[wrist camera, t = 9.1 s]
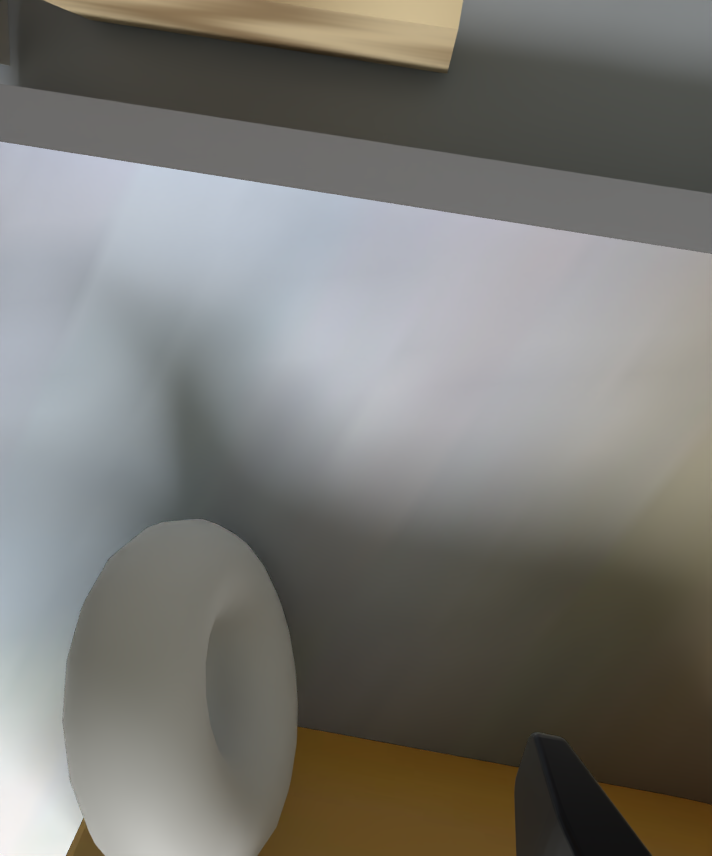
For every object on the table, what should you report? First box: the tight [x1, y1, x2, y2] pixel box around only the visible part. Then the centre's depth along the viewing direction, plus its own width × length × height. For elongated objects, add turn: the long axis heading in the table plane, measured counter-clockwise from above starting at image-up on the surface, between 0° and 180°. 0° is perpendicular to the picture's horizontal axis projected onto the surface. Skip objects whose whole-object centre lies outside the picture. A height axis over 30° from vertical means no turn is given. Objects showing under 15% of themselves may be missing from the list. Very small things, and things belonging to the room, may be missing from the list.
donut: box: [63, 519, 298, 856], centre depth 20 cm, size 10×4×10 cm, turn 15°
